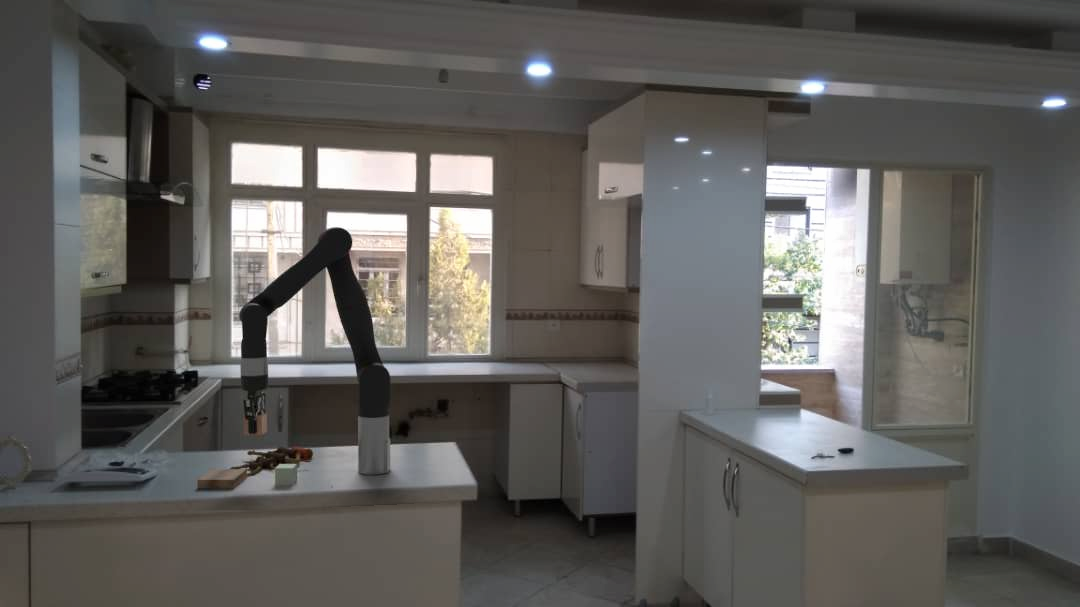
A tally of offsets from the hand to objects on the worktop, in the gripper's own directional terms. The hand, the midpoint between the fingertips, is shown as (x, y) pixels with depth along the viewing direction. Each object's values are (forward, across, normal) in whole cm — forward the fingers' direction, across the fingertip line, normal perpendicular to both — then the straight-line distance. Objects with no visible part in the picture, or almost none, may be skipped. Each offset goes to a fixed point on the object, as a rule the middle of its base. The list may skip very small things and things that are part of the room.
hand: (255, 431), depth 242 cm
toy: (+15, +19, +2) cm, 25 cm away
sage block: (+15, -1, -9) cm, 17 cm away
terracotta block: (0, 0, 0) cm, 0 cm away
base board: (+15, -1, +9) cm, 17 cm away
